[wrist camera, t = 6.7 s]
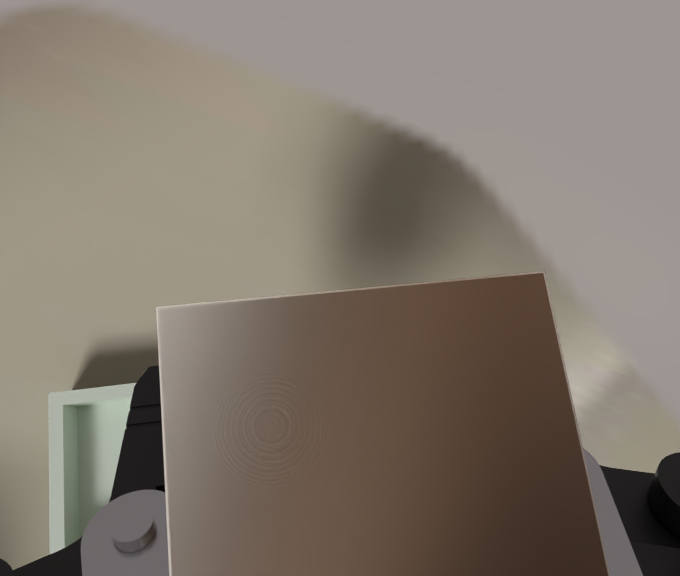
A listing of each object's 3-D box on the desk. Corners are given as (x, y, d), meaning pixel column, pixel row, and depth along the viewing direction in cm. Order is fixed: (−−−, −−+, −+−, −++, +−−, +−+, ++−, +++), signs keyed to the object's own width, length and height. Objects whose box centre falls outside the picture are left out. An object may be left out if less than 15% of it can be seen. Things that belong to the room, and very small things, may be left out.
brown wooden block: (242, 542, 14) (180, 797, 4) (230, 383, 15) (156, 306, 5) (396, 519, 15) (636, 697, 5) (375, 366, 16) (544, 271, 6)
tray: (71, 554, 21) (49, 566, 19) (68, 396, 23) (48, 393, 21) (229, 529, 22) (224, 539, 20) (217, 378, 23) (212, 373, 21)
